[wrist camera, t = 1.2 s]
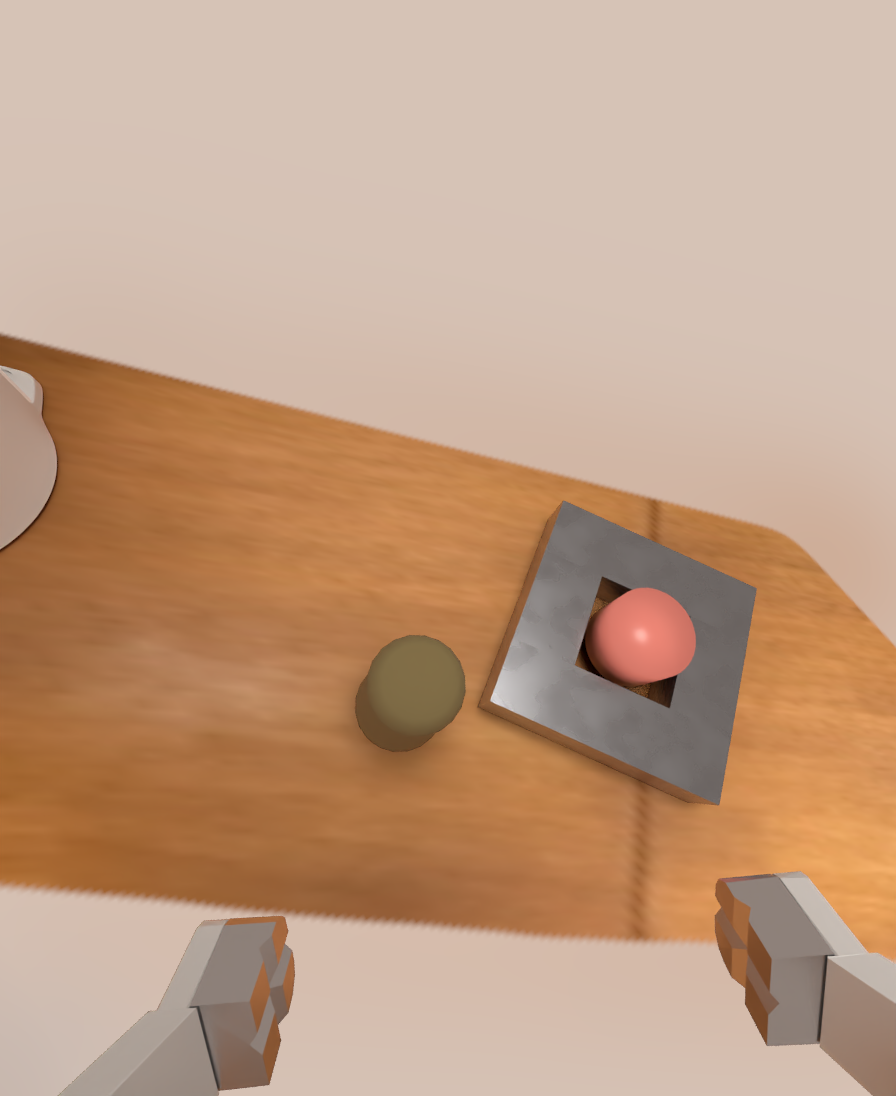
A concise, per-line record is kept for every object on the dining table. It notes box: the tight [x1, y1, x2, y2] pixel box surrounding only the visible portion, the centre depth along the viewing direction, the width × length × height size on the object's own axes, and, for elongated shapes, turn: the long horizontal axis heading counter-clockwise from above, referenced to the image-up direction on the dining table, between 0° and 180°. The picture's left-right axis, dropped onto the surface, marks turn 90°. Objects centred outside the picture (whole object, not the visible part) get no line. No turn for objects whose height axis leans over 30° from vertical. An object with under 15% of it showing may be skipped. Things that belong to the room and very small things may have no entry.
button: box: [585, 588, 696, 687], centre depth 38 cm, size 6×6×4 cm
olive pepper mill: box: [355, 635, 465, 752], centre depth 32 cm, size 6×6×11 cm
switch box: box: [478, 501, 757, 805], centre depth 40 cm, size 16×16×4 cm
